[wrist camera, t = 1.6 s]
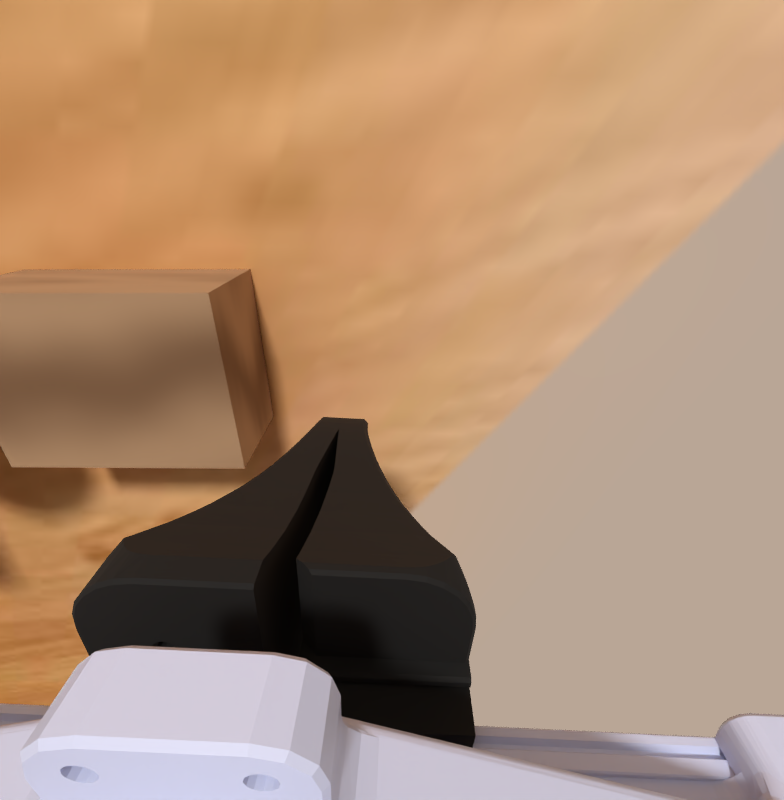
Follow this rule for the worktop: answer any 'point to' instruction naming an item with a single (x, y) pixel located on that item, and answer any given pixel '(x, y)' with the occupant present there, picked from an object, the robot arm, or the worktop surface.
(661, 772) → the robot arm
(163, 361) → the tan wooden chunk
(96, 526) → the worktop surface
